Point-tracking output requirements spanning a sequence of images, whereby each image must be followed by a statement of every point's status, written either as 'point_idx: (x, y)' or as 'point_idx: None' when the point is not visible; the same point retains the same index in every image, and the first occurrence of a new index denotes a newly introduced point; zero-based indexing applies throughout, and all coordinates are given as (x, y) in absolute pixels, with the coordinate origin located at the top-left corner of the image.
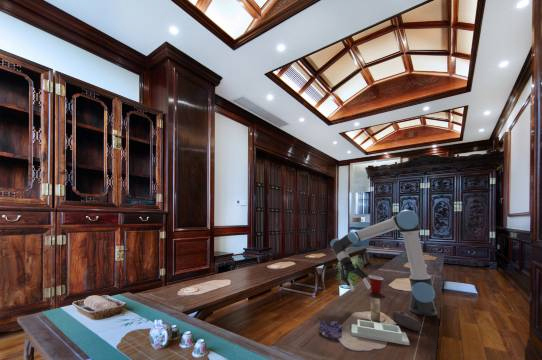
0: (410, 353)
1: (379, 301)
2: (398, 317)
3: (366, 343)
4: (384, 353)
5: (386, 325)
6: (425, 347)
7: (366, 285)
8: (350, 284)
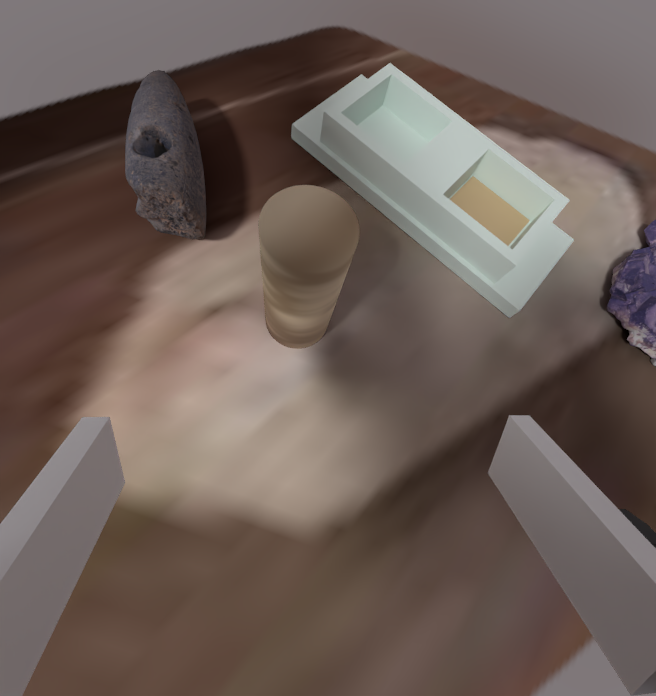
0: (409, 62)
1: (295, 192)
2: (199, 176)
3: None
4: (509, 103)
5: (383, 152)
6: (304, 54)
7: (89, 531)
8: (595, 500)
